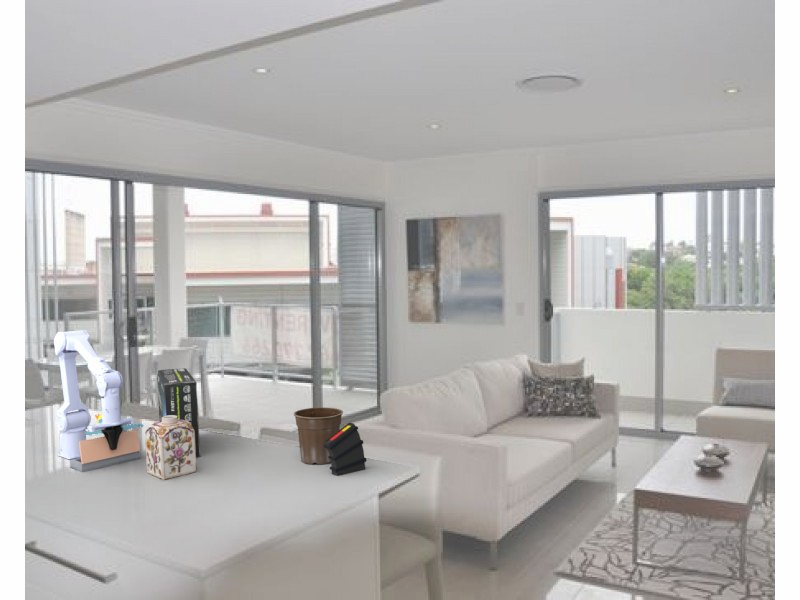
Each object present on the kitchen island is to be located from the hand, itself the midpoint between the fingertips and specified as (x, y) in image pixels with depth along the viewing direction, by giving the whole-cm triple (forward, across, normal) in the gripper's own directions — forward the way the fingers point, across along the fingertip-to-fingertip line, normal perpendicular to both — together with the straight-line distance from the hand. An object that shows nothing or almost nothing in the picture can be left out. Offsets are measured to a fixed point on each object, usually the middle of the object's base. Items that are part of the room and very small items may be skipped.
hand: (113, 449), depth 232 cm
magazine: (+7, +40, -68) cm, 79 cm away
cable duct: (+5, 0, +6) cm, 8 cm away
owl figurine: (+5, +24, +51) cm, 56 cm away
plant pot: (+7, +45, -51) cm, 69 cm away
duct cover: (-1, 0, +2) cm, 2 cm away
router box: (+6, +26, +3) cm, 27 cm away
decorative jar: (+6, +7, -23) cm, 25 cm away
